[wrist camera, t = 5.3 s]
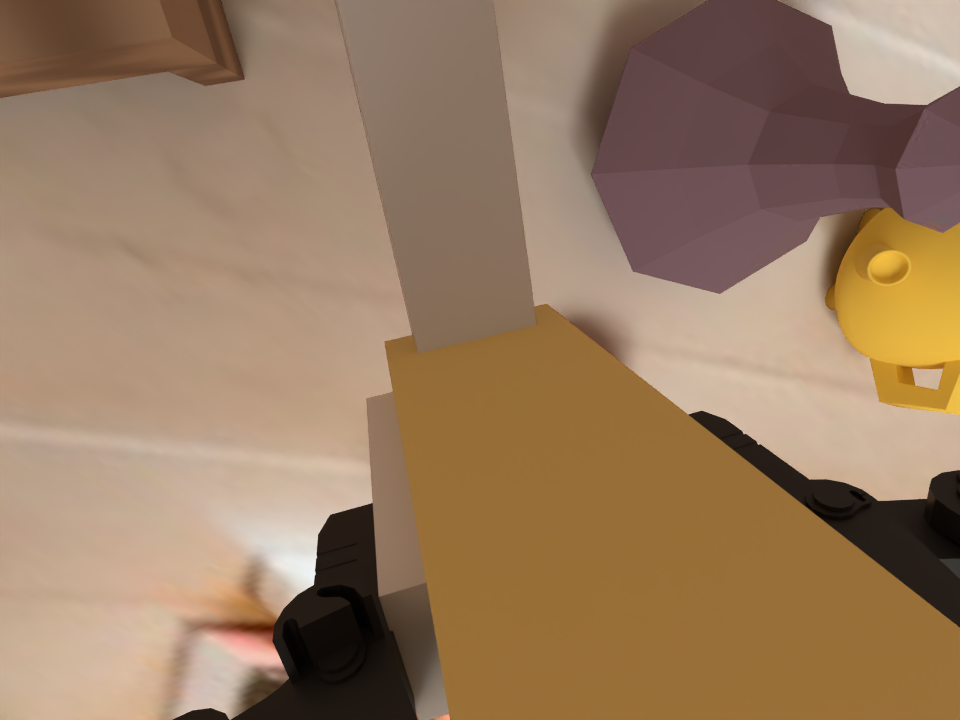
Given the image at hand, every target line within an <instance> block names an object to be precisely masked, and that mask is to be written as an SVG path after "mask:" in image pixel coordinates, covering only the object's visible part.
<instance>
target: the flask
mask: <svg viewBox="0 0 960 720" xmlns="http://www.w3.org/2000/svg"><path fill="white" fill-rule="evenodd" d="M591 175H592V178H593V180H594V182H595V185H596V187H597V189H598V192H599V194H600V196H601V199H602V201H603V203H604V205H605V208H606V210H607V212H608V215H609V217H610V219H611V222H612V224H613V226H614V229H615V231H616V233H617V235H618V238H619V240H620V242H621V245H622V247H623V249H624V252H625V254H626V256H627V259H628V261H629V263H630V266H631V268H632V270H633V272H637V273H641V274H645V275H649V276H653V277H657V278H661V279H664V280H668V281H672V282H676V283H680V284H684V285H688V286H692V287H695V288H699V289H703V290H707V291H711V292H715V293H719V294H720V293H722V292H724V291H725V290H727V289H729V288H730V287H732V286H733V285H735V284H737V283H738V282H740V281H742V280H743V279H745V278H747V277H748V276H750V275H751V274H753V273H755V272H756V271H758V270H760V269H761V268H763V267H765V266H766V265H768V264H769V263H771V262H773V261H774V260H776V259H778V258H779V257H781V256H783V255H784V254H786V253H788V252H789V251H791V250H792V249H794V248H796V247H797V246H799V245H801V244H802V243H804V242H806V241H807V239H808V237H809V236H810V234H811V232H812V231H813V229H814V227H815V225H816V224H817V222H818V220H819V218H820V217H823V216H828V215H833V214H838V213H844V212H849V211H854V210H859V209H864V208H892V209H893V210H894V211H895V212H896V213H898V214H899V215H900V216H901V217H902V218H903V219H904V220H907V221H909V222H912V223H915V224H918V225H921V226H924V227H927V228H930V229H933V230H935V231H938V232H941V233H944V232H945V231H947V230H949V229H950V228H952V227H954V226H955V225H957V224H959V223H960V87H958V88H956V89H954V90H953V91H951V92H949V93H947V94H946V95H944V96H942V97H940V98H938V99H937V100H935V101H933V102H931V103H930V104H928V105H907V104H884V103H880V102H876V101H873V100H869V99H865V98H862V97H858V96H854V95H851V94H849V91H848V89H847V86H846V84H845V81H844V79H843V77H842V74H841V70H840V65H839V60H838V55H837V50H836V45H835V40H834V35H833V31H832V26H831V25H829V24H826V23H824V22H822V21H820V20H818V19H816V18H813V17H811V16H809V15H807V14H805V13H803V12H800V11H798V10H796V9H794V8H792V7H790V6H787V5H785V4H783V3H781V2H779V1H777V0H708V1H706V2H705V3H703V4H702V5H700V6H698V7H697V8H695V9H694V10H692V11H690V12H689V13H687V14H686V15H684V16H682V17H681V18H679V19H677V20H676V21H674V22H673V23H671V24H669V25H668V26H666V27H665V28H663V29H661V30H660V31H658V32H657V33H655V34H653V35H652V36H650V37H648V38H647V39H645V40H644V41H642V42H640V43H639V44H637V45H636V46H634V47H632V48H631V50H630V53H629V57H628V60H627V63H626V66H625V69H624V72H623V75H622V79H621V82H620V85H619V88H618V91H617V94H616V97H615V101H614V104H613V107H612V110H611V113H610V116H609V119H608V123H607V126H606V129H605V132H604V135H603V138H602V141H601V145H600V148H599V151H598V154H597V157H596V160H595V163H594V166H593V170H592V173H591Z"/></svg>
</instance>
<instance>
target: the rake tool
mask: <svg viewBox="0 0 960 720" xmlns="http://www.w3.org/2000/svg"><path fill="white" fill-rule="evenodd" d="M335 4H336V8H337V13H338V17H339V21H340V26H341V30H342V34H343V39H344V43H345V47H346V51H347V56H348V60H349V64H350V69H351V73H352V77H353V82H354V86H355V90H356V94H357V99H358V103H359V107H360V112H361V116H362V120H363V125H364V129H365V133H366V137H367V142H368V146H369V150H370V155H371V159H372V163H373V168H374V172H375V176H376V180H377V185H378V189H379V193H380V198H381V202H382V206H383V211H384V215H385V219H386V223H387V228H388V232H389V236H390V241H391V245H392V249H393V254H394V258H395V262H396V266H397V271H398V275H399V279H400V284H401V288H402V292H403V297H404V301H405V305H406V309H407V314H408V318H409V322H410V327H411V331H412V335H411V336H407V337H403V338H399V339H394V340H390V341H386V342H385V348H386V353H387V359H388V365H389V371H390V376H391V382H392V388H393V394H394V399H395V405H396V411H397V417H398V422H399V428H400V434H401V440H402V445H403V451H404V457H405V463H406V468H407V474H408V480H409V485H410V491H411V497H412V503H413V508H414V514H415V520H416V526H417V531H418V537H419V543H420V549H421V554H422V560H423V566H424V572H425V577H426V583H427V589H428V595H429V600H430V606H431V612H432V618H433V623H434V629H435V635H436V641H437V646H438V652H439V658H440V664H441V669H442V675H443V681H444V687H445V692H446V698H447V704H448V710H449V715H450V720H960V627H958V626H957V625H956V624H955V623H953V622H952V621H951V620H949V619H948V618H947V617H946V616H944V615H943V614H942V613H940V612H939V611H938V610H937V609H935V608H934V607H933V606H932V605H930V604H929V603H928V602H926V601H925V600H924V599H923V598H921V597H920V596H919V595H918V594H916V593H915V592H914V591H912V590H911V589H910V588H909V587H907V586H906V585H905V584H903V583H902V582H901V581H900V580H898V579H897V578H896V577H895V576H893V575H892V574H891V573H889V572H888V571H887V570H886V569H884V568H883V567H882V566H881V565H879V564H878V563H877V562H875V561H874V560H873V559H872V558H870V557H869V556H868V555H866V554H865V553H864V552H863V551H861V550H860V549H859V548H858V547H856V546H855V545H854V544H852V543H851V542H850V541H849V540H847V539H846V538H845V537H844V536H842V535H841V534H840V533H838V532H837V531H836V530H835V529H833V528H832V527H831V526H829V525H828V524H827V523H826V522H824V521H823V520H822V519H821V518H819V517H818V516H817V515H815V514H814V513H813V512H812V511H810V510H809V509H808V508H807V507H805V506H804V505H803V504H801V503H800V502H799V501H798V500H796V499H795V498H794V497H792V496H791V495H790V494H789V493H787V492H786V491H785V490H784V489H782V488H781V487H780V486H778V485H777V484H776V483H775V482H773V481H772V480H771V479H770V478H768V477H767V476H766V475H764V474H763V473H762V472H761V471H759V470H758V469H757V468H755V467H754V466H753V465H752V464H750V463H749V462H748V461H747V460H745V459H744V458H743V457H741V456H740V455H739V454H738V453H736V452H735V451H734V450H733V449H731V448H730V447H729V446H727V445H726V444H725V443H724V442H722V441H721V440H720V439H718V438H717V437H716V436H715V435H713V434H712V433H711V432H710V431H708V430H707V429H706V428H704V427H703V426H702V425H701V424H699V423H698V422H697V421H696V420H694V419H693V418H692V417H690V416H689V415H688V414H687V413H685V412H684V411H683V410H681V409H680V408H679V407H678V406H676V405H675V404H674V403H673V402H671V401H670V400H669V399H667V398H666V397H665V396H664V395H662V394H661V393H660V392H659V391H657V390H656V389H655V388H653V387H652V386H651V385H650V384H648V383H647V382H646V381H644V380H643V379H642V378H641V377H639V376H638V375H637V374H636V373H634V372H633V371H632V370H630V369H629V368H628V367H627V366H625V365H624V364H623V363H622V362H620V361H619V360H618V359H616V358H615V357H614V356H613V355H611V354H610V353H609V352H607V351H606V350H605V349H604V348H602V347H601V346H600V345H599V344H597V343H596V342H595V341H593V340H592V339H591V338H590V337H588V336H587V335H586V334H585V333H583V332H582V331H581V330H579V329H578V328H577V327H576V326H574V325H573V324H572V323H570V322H569V321H568V320H567V319H565V318H564V317H563V316H562V315H560V314H559V313H558V312H556V311H555V310H554V309H553V308H551V307H550V306H549V305H548V304H544V305H539V306H535V307H534V302H533V294H532V287H531V279H530V272H529V264H528V257H527V249H526V242H525V235H524V227H523V220H522V212H521V205H520V197H519V190H518V182H517V175H516V167H515V160H514V152H513V145H512V138H511V130H510V123H509V115H508V108H507V100H506V93H505V85H504V78H503V70H502V63H501V56H500V48H499V41H498V33H497V26H496V18H495V11H494V3H493V0H335Z"/></svg>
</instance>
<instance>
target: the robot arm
mask: <svg viewBox="0 0 960 720" xmlns="http://www.w3.org/2000/svg"><path fill="white" fill-rule="evenodd" d="M366 400H367V416H368V432H369V449H370V465H371V481H372V497H373V503H371V504H368V505H364V506H361V507H357V508H353V509H350V510H346V511H342V512H339V513H335V514H332V515H330V516H329V518H328V519H327V521H326V523H325V524H324V526H323V528H322V529H321V531H320V533H319V534H318V545H317V558H316V568H315V572H316V575H315V580H314V585H313V586H311V587H310V588H308V589H307V590H305V591H303V592H302V593H300V594H298V595H297V596H296V597H295V598H294V599H293V600H292V601H291V602H290V603H289V604H288V605H287V606H286V607H285V608H284V609H283V611H282V613H281V614H280V616H279V618H278V620H277V622H276V623H275V625H274V633H273V643H274V645H275V648H276V650H277V652H278V654H279V656H280V659H281V661H282V663H283V665H284V667H285V670H286V672H287V674H288V676H289V679H288V680H287V681H286V682H285V683H284V684H283V685H282V686H281V687H280V688H279V689H278V690H276V691H275V692H273V693H272V694H271V695H269V696H268V697H267V698H265V699H264V700H262V701H260V702H259V703H257V704H256V705H254V706H252V707H251V708H249V709H247V710H246V711H244V712H243V713H241V714H239V715H238V716H236V717H235V718H233V719H231V720H417V717H416V713H417V716H418V719H419V720H431V719H434V718H437V717H440V716H443V715H446V714H449V710H448V704H447V698H446V692H445V687H444V681H443V675H442V669H441V664H440V658H439V652H438V646H437V641H436V635H435V629H434V623H433V618H432V612H431V606H430V600H429V595H428V589H427V583H426V577H425V572H424V566H423V560H422V554H421V549H420V543H419V537H418V531H417V526H416V520H415V514H414V508H413V503H412V497H411V491H410V485H409V480H408V474H407V468H406V463H405V457H404V451H403V445H402V440H401V434H400V428H399V422H398V417H397V411H396V405H395V399H394V394H393V392H391V393H387V394H383V395H379V396H375V397H371V398H367V399H366ZM689 416H690V417H692V418H693V419H694V420H696V421H697V422H698V423H699V424H701V425H702V426H703V427H704V428H706V429H707V430H708V431H710V432H711V433H712V434H713V435H715V436H716V437H717V438H718V439H720V440H721V441H722V442H724V443H725V444H726V445H727V446H729V447H730V448H731V449H733V450H734V451H735V452H736V453H738V454H739V455H740V456H741V457H743V458H744V459H745V460H747V461H748V462H749V463H750V464H752V465H753V466H754V467H755V468H757V469H758V470H759V471H761V472H762V473H763V474H764V475H766V476H767V477H768V478H770V479H771V480H772V481H773V482H775V483H776V484H777V485H778V486H780V487H781V488H782V489H784V490H785V491H786V492H787V493H789V494H790V495H791V496H792V497H794V498H795V499H796V500H798V501H799V502H800V503H801V504H803V505H804V506H805V507H807V508H808V509H809V510H810V511H812V512H813V513H814V514H815V515H817V516H818V517H819V518H821V519H822V520H823V521H824V522H826V523H827V524H828V525H829V526H831V527H832V528H833V529H835V530H836V531H837V532H838V533H840V534H841V535H842V536H844V537H845V538H846V539H847V540H849V541H850V542H851V543H852V544H854V545H855V546H856V547H858V548H859V549H860V550H861V551H863V552H864V553H865V554H866V555H868V556H869V557H870V558H872V559H873V560H874V561H875V562H877V563H878V564H879V565H881V566H882V567H883V568H884V569H886V570H887V571H888V572H889V573H891V574H892V575H893V576H895V577H896V578H897V579H898V580H900V581H901V582H902V583H903V584H905V585H906V586H907V587H909V588H910V589H911V590H912V591H914V592H915V593H916V594H918V595H919V596H920V597H921V598H923V599H924V600H925V601H926V602H928V603H929V604H930V605H932V606H933V607H934V608H935V609H937V610H938V611H939V612H940V613H942V614H943V615H944V616H946V617H947V618H948V619H949V620H951V621H952V622H953V623H955V624H956V625H957V626H958V627H960V470H957V471H951V472H944V473H941V474H939V475H937V476H936V477H934V478H932V480H931V484H930V487H929V492H928V497H927V499H916V500H895V501H877V500H876V499H875V498H873V497H872V496H871V495H869V494H868V493H866V492H865V491H863V490H862V489H859V488H857V487H854V486H852V485H849V484H847V483H843V482H837V481H832V480H827V479H824V480H809V479H808V478H806V477H805V476H804V475H802V474H801V473H799V472H798V471H797V470H795V469H794V468H793V467H791V466H790V465H788V464H787V463H786V462H784V461H783V460H781V459H780V458H779V457H777V456H776V455H774V454H773V453H772V452H770V451H769V450H768V449H766V448H765V447H763V446H762V445H761V444H760V445H758V444H757V442H756V441H755V440H754V439H752V438H751V437H749V436H748V435H747V434H743V432H742V431H741V430H740V429H738V428H737V427H736V426H734V425H733V424H731V423H730V422H729V421H727V420H726V419H723V418H721V417H718V416H715V415H712V414H709V413H707V412H704V411H699V412H696V413H692V414H689ZM173 720H229V719H228V717H227V715H226V714H225V713H223V712H220V711H217V710H215V709H212V708H209V709H201V710H193V711H190V712H188V713H186V714H184V715H182V716H180V717H177V718H175V719H173Z"/></svg>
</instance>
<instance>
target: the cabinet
mask: <svg viewBox="0 0 960 720" xmlns="http://www.w3.org/2000/svg"><path fill="white" fill-rule="evenodd" d="M166 71H168V72H171V73H174V74H176V75H179V76H181V77H184V78H186V79H189V80H191V81H194V82H197V83H199V84H202V85H204V86H207V85H213V84H220V83H226V82H232V81H238V80H244V76H243V72H242V69H241V66H240V63H239V59H238V56H237V53H236V49H235V46H234V43H233V40H232V36H231V33H230V30H229V27H228V23H227V20H226V17H225V13H224V10H223V7H222V4H221V0H0V98H2V97H8V96H15V95H21V94H27V93H33V92H40V91H46V90H52V89H59V88H65V87H71V86H78V85H84V84H90V83H97V82H103V81H109V80H116V79H122V78H128V77H135V76H141V75H147V74H154V73H160V72H166Z"/></svg>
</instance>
